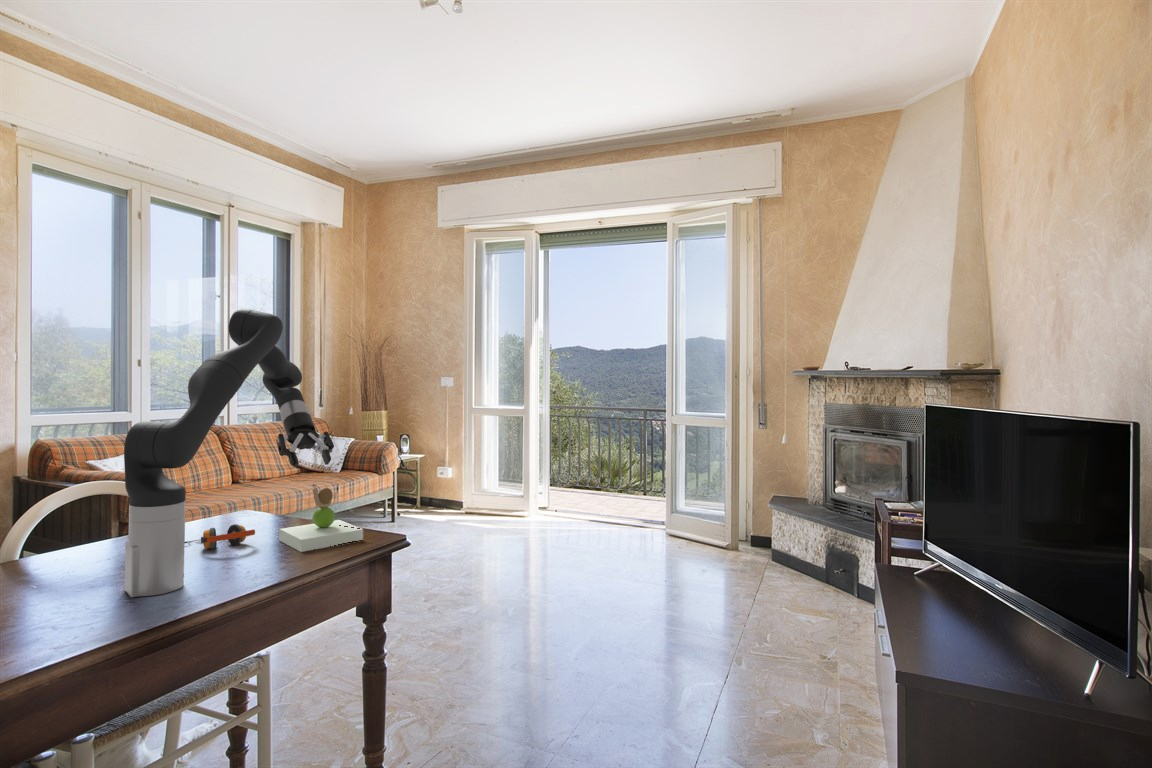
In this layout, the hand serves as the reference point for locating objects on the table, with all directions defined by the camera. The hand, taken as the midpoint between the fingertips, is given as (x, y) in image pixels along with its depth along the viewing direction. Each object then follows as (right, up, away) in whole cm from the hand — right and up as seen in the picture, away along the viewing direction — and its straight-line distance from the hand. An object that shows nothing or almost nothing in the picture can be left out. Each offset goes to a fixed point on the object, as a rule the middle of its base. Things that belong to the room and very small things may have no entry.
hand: (312, 464), depth 165 cm
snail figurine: (+5, -16, -6) cm, 18 cm away
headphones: (-17, -19, -14) cm, 29 cm away
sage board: (+5, -19, -7) cm, 21 cm away
